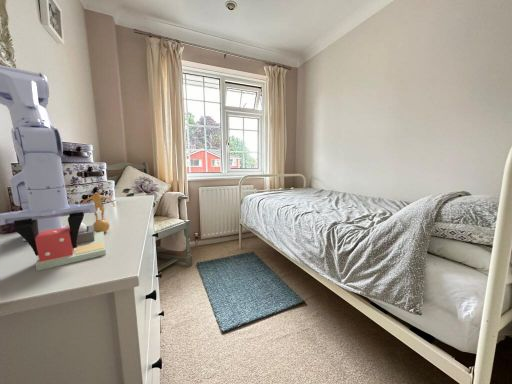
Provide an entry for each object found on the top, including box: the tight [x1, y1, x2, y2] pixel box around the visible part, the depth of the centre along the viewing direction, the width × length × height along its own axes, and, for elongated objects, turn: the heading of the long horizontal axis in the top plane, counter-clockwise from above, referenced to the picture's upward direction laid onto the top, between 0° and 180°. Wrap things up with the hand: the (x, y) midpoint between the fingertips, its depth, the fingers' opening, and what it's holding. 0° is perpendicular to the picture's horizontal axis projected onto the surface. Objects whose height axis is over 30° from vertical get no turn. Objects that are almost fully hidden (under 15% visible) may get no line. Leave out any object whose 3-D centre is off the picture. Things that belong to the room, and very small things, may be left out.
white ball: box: [65, 221, 87, 233], centre depth 52 cm, size 4×4×4 cm
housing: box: [77, 224, 96, 244], centre depth 52 cm, size 7×7×2 cm
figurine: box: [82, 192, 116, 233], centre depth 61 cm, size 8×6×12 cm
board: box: [35, 231, 107, 272], centre depth 50 cm, size 16×11×1 cm
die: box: [35, 227, 74, 262], centre depth 44 cm, size 5×5×5 cm
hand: (57, 250), depth 44 cm, fingers closed on die, 5 cm apart
